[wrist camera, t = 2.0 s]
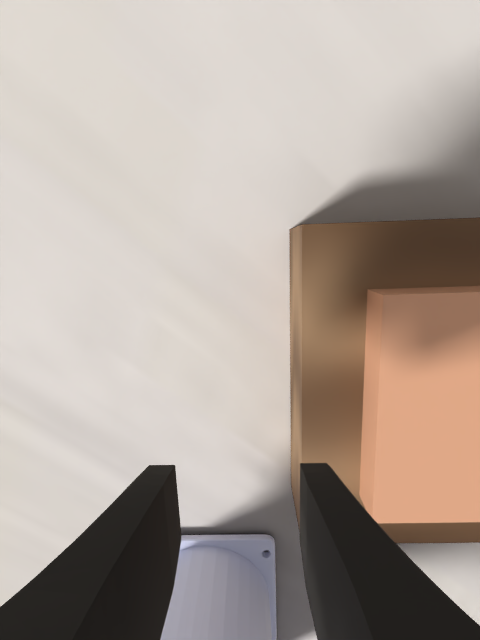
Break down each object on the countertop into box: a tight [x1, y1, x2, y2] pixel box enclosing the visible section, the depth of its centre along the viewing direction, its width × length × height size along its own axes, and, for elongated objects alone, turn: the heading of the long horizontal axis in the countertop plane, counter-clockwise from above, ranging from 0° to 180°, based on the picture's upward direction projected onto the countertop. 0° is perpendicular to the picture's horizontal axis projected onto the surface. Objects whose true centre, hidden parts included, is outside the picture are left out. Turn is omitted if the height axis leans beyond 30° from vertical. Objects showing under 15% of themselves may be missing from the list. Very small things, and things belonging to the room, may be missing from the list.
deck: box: [290, 218, 480, 543], centre depth 16 cm, size 14×10×4 cm
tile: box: [359, 286, 480, 523], centre depth 13 cm, size 9×6×2 cm, turn 2°
